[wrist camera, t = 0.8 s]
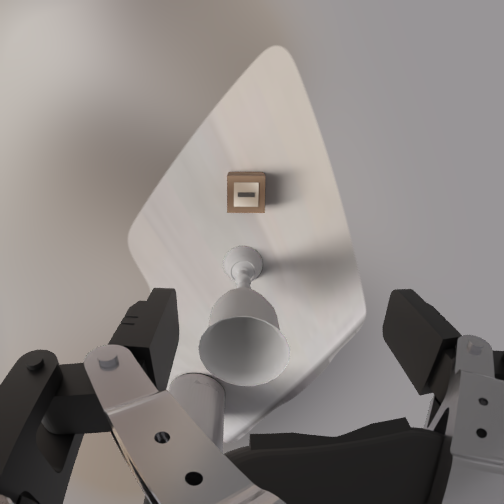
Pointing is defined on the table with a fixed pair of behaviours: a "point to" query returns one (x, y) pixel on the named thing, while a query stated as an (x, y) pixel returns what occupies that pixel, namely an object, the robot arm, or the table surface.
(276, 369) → the chalice
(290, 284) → the table surface
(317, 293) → the table surface
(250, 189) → the walnut cube
